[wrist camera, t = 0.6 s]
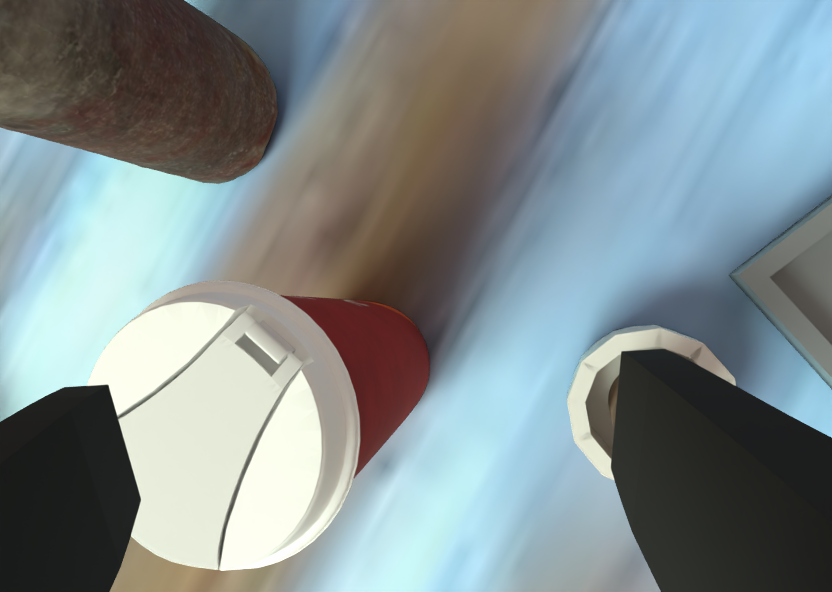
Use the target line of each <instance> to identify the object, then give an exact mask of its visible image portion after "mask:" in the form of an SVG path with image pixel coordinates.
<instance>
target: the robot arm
mask: <svg viewBox="0 0 832 592" xmlns="http://www.w3.org/2000/svg"><path fill="white" fill-rule="evenodd" d="M611 471H612V474H613V477H614V480H615V483H616V486H617V489H618V492H619V495H620V498H621V502H622V504H623V507H624V510H625V513H626V516H627V519H628V521H629V524H630V527H631V530H632V532H633V535H634V537H635V539H636V541H637V543H638V545H639V547H640V549H641V551H642V553H643V556H644V558H645V560H646V562H647V564H648V566H649V568H650V570H651V572H652V574H653V576H654V578H655V580H656V582H657V584H658V586H659V588H660V590H661V592H832V438H831V437H829V436H827V435H825V434H823V433H821V432H820V431H818V430H816V429H814V428H812V427H810V426H808V425H806V424H804V423H802V422H800V421H799V420H797V419H795V418H793V417H791V416H789V415H787V414H785V413H784V412H782V411H780V410H778V409H776V408H774V407H773V406H771V405H769V404H767V403H765V402H764V401H762V400H760V399H758V398H756V397H755V396H753V395H751V394H749V393H747V392H746V391H744V390H742V389H740V388H738V387H737V386H735V385H733V384H731V383H729V382H728V381H726V380H724V379H722V378H721V377H719V376H717V375H715V374H713V373H712V372H710V371H708V370H706V369H704V368H702V367H701V366H699V365H697V364H695V363H693V362H691V361H689V360H687V359H686V358H684V357H682V356H680V355H678V354H675V353H673V352H671V351H669V350H666V349H650V350H635V351H621V360H620V371H619V382H618V393H617V404H616V415H615V426H614V437H613V448H612V459H611ZM140 502H141V497H140V493H139V490H138V486H137V483H136V479H135V476H134V473H133V469H132V466H131V462H130V459H129V455H128V452H127V448H126V445H125V441H124V438H123V434H122V431H121V427H120V424H119V420H118V417H117V413H116V410H115V406H114V403H113V399H112V396H111V392H110V389H109V385H93V386H78V387H64V388H62V389H60V390H58V391H56V392H53V393H51V394H49V395H47V396H45V397H43V398H41V399H39V400H38V401H36V402H34V403H32V404H30V405H29V406H27V407H25V408H23V409H22V410H20V411H18V412H16V413H15V414H13V415H11V416H10V417H8V418H6V419H4V420H3V421H1V422H0V592H109V591H110V589H111V587H112V585H113V583H114V580H115V578H116V576H117V574H118V571H119V569H120V567H121V564H122V561H123V558H124V555H125V552H126V549H127V546H128V543H129V540H130V537H131V533H132V530H133V527H134V523H135V520H136V516H137V513H138V509H139V506H140Z"/></svg>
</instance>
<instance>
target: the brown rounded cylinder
mask: <svg viewBox="0 0 832 592" xmlns="http://www.w3.org/2000/svg"><path fill="white" fill-rule="evenodd" d="M277 115H278V109H277V92H276V88H275V85H274V83H273V81H272V79H271V76H270V73H269V71H268V69H267V68H266V66H265V64H264V63H263V61H262V60H261V59H260V58H259V56H258V55H257V54H256V53H255V52H254V50H253V49H252V48H251V47H250V46H249V45H248V44H246V43H245V42H244V41H243V40H242V39H240V38H239V37H237V36H236V35H235V34H233V33H232V32H230V31H229V30H227V29H226V28H225V27H223V26H222V25H220V24H219V23H217V22H216V21H214V20H213V19H211V18H210V17H209V16H207V15H206V14H204V13H202V12H201V11H199V10H198V9H196V8H195V7H193V6H192V5H190V4H189V3H187V2H186V1H184V0H0V127H1V128H4V129H7V130H11V131H16V132H20V133H24V134H28V135H31V136H35V137H38V138H42V139H45V140H49V141H53V142H57V143H60V144H64V145H67V146H71V147H75V148H79V149H83V150H86V151H90V152H93V153H97V154H101V155H104V156H107V157H111V158H114V159H118V160H121V161H125V162H128V163H132V164H135V165H138V166H140V167H144V168H149V169H153V170H158V171H161V172H165V173H168V174H173V175H178V176H181V177H185V178H188V179H192V180H196V181H199V182H203V183H218V184H219V183H224V182H229V181H231V180H234V179H236V178H237V177H239V176H242V175H244V174H246V173H247V172H249V171H250V170H251V169H253V168H254V167H255V166H256V165H257V164H258V163H259V161H260V160H261V158H262V156H263V154H264V151H265V147H266V145H267V144H268V142H269V139H270V136H271V133H272V131H273V128H274V125H275V122H276V118H277Z"/></svg>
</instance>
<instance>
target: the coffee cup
mask: <svg viewBox="0 0 832 592" xmlns="http://www.w3.org/2000/svg"><path fill="white" fill-rule="evenodd" d="M429 369H430V362H429V353H428V349H427V346H426V343H425V340H424V338H423V336H422V334H421V333H420V331H419V330H418V328H417V327H416V325H415V324H414V323H413V322H412V321H411V320H410V319H409V318H408V317H407V316H405V315H404V314H403V313H401V312H400V311H398V310H396V309H394V308H392V307H390V306H387V305H384V304H380V303H375V302H367V301H358V300H346V299H331V298H316V297H299V296H282V295H278V294H276V293H274V292H272V291H270V290H267V289H264V288H261V287H258V286H255V285H252V284H248V283H241V282H235V281H206V282H201V283H196V284H191V285H187V286H184V287H182V288H179V289H177V290H174V291H172V292H169V293H167V294H166V295H164V296H162V297H161V298H159V299H158V300H156V301H154V302H153V303H151V304H150V305H149V306H148V307H147V308H146V309H144V310H143V311H142V312H141V313H140V314H139V315H138V316H136V317H135V318H134V319H132V320H131V321H130V322H129V323H128V324H127V325H125V326H124V327H123V328H122V329H121V330H120V331H119V332H118V333H117V334H116V335H115V336H114V338H113V339H112V340H111V341H110V342H109V344H108V345H107V346H106V347H105V349H104V350H103V352H102V354H101V356H100V357H99V359H98V361H97V362H96V364H95V366H94V368H93V371H92V373H91V376H90V379H89V381H88V384H87V386H93V385H109V389H110V392H111V396H112V399H113V403H114V406H115V410H116V413H117V417H118V420H119V424H120V427H121V431H122V434H123V438H124V441H125V445H126V448H127V452H128V455H129V459H130V462H131V466H132V469H133V473H134V476H135V479H136V483H137V486H138V490H139V493H140V497H141V502H140V506H139V509H138V513H137V516H136V520H135V523H134V527H133V530H132V533H131V536H132V537H133V538H134V539H135V540H136V541H137V542H138V543H140V544H141V545H142V546H144V547H145V548H147V549H148V550H150V551H151V552H153V553H154V554H155V555H158V556H160V557H162V558H164V559H167V560H169V561H171V562H174V563H179V564H184V565H188V566H193V567H200V568H207V569H215V570H217V569H219V568H220V569H219V570H221V571H224V570H233V569H236V570H238V569H250V568H259V567H263V566H266V565H270V564H274V563H277V562H280V561H282V560H284V559H286V558H288V557H290V556H292V555H294V554H296V553H298V552H299V551H301V550H302V549H303V548H305V547H306V546H308V545H309V544H310V543H312V542H313V541H314V540H315V539H316V538H317V537H318V536H319V535H320V534H321V533H322V532H323V531H324V530H325V529H326V528H327V527H328V526H329V525H330V523H331V522H332V520H333V519H334V517H335V516H336V515H337V513H338V512H339V510H340V509H341V507H342V505H343V503H344V501H345V499H346V497H347V495H348V492H349V490H350V488H351V485H352V482H353V479H354V478H355V477H356V475H357V474H358V473H359V472H360V471H361V470H362V469H363V467H364V466H365V465H366V464H367V463H368V462H369V461H370V459H371V458H372V457H373V456H374V455H375V454H376V453H377V452H378V450H379V449H380V448H381V447H382V446H383V445H384V443H385V442H386V441H387V440H388V439H389V438H390V436H391V435H392V434H393V433H394V432H395V431H396V430H397V428H398V427H399V426H400V425H401V424H402V422H403V421H404V420H405V419H406V418H407V416H408V415H409V414H410V413H411V411H412V410H413V409H414V407H415V406H416V405H417V403H418V402H419V400H420V398H421V397H422V395H423V393H424V391H425V388H426V385H427V382H428V377H429Z"/></svg>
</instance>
